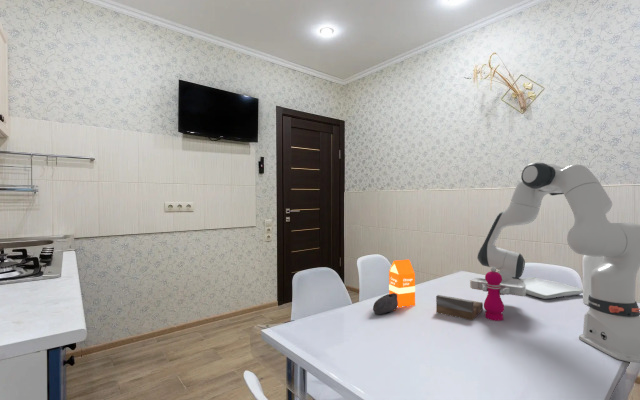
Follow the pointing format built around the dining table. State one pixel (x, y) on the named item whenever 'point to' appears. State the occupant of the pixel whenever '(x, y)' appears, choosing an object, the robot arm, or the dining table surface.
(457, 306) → the walnut stand
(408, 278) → the orange juice
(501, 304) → the pepper mill
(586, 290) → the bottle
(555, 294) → the square plate
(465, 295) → the dining table surface
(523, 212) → the robot arm
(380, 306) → the perforated stone tool
